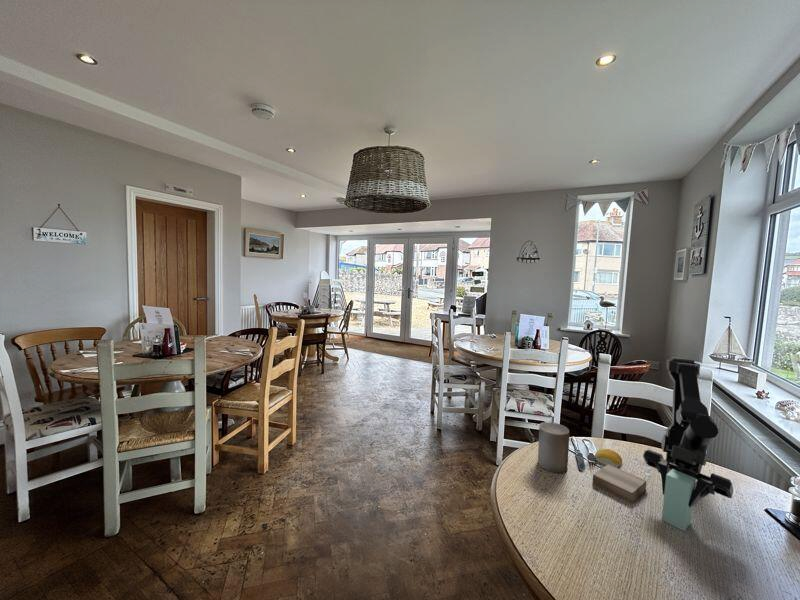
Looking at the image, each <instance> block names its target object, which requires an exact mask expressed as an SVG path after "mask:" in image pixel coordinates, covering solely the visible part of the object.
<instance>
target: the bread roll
mask: <svg viewBox="0 0 800 600" xmlns="http://www.w3.org/2000/svg"><path fill="white" fill-rule="evenodd" d="M595 457H596V459H597V460H598V461H599V462H600V463H599V462H598V461H597V460H596V459H595V460H596V461H597V462H598V463H599V464H601V463H602V464H601V465H603V466H604V467H605V466H606V465H608V464H609V465H612V466H614V467H616V468H619V467H620V466H621V464H622V463H623V458H622V456H621V455H620V454H619V453H618V452H616V451H615V450H614V449H613V450H612V449H609V448H602V449H599V450H597V451H596V452H595V453H594V458H595Z"/></svg>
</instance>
